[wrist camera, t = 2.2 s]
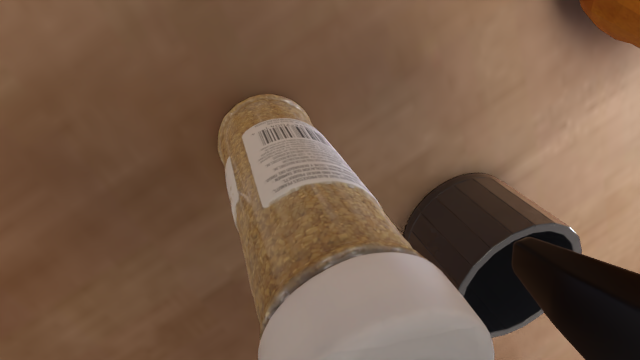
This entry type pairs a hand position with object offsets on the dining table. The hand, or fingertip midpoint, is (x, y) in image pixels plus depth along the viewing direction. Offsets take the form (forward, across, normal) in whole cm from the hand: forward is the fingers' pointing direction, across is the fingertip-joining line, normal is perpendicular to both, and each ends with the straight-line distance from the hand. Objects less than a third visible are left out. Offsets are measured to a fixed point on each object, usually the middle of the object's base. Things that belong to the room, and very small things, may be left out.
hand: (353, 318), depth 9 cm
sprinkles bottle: (+11, 0, 0) cm, 11 cm away
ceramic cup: (+11, -10, +10) cm, 18 cm away
